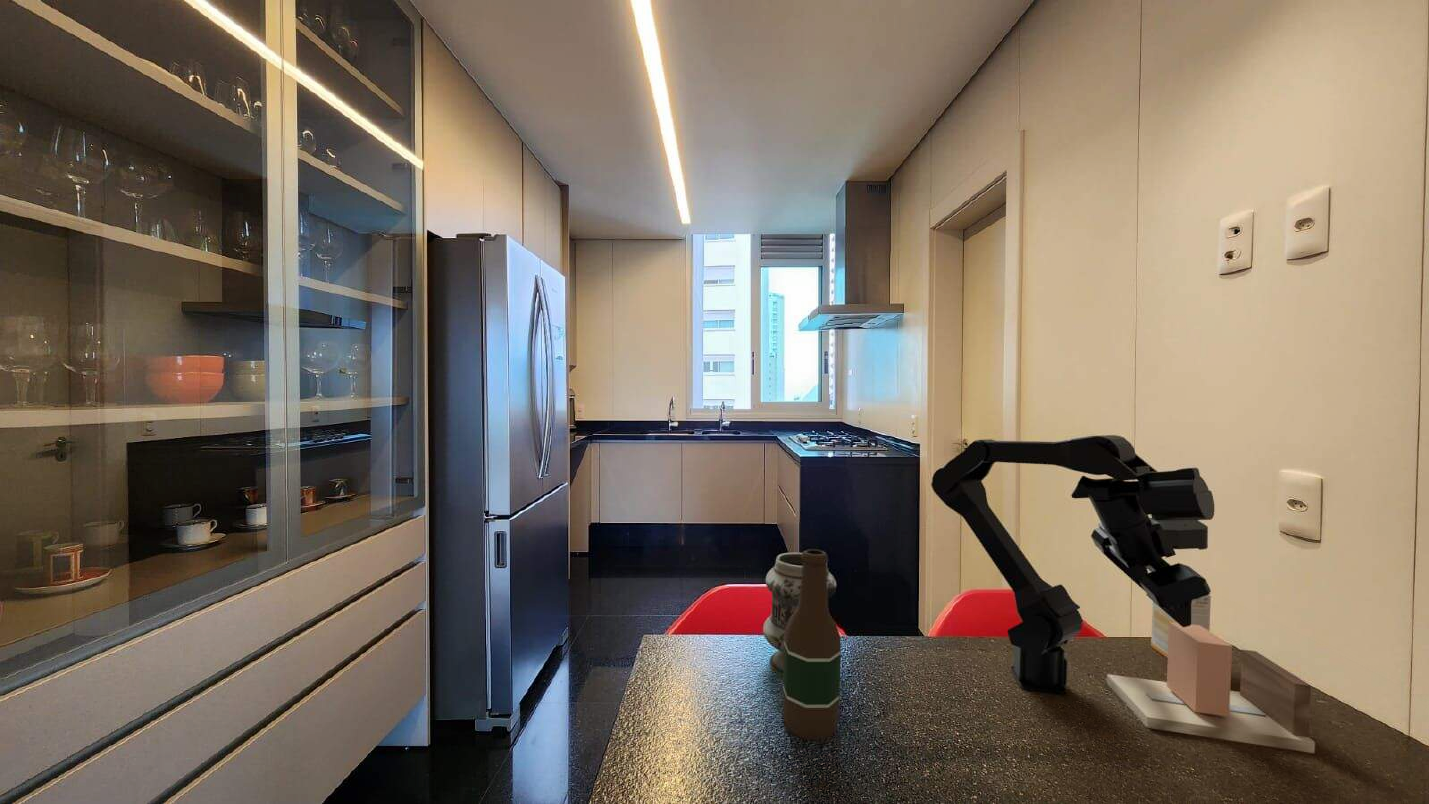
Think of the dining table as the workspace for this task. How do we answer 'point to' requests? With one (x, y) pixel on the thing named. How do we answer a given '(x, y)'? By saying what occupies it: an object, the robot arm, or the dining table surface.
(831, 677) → the beer bottle
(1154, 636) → the supplement box
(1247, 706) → the track
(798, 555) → the apothecary jar
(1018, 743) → the dining table surface
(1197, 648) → the tan rectangular block
